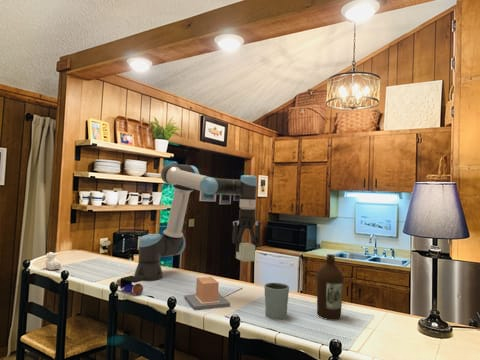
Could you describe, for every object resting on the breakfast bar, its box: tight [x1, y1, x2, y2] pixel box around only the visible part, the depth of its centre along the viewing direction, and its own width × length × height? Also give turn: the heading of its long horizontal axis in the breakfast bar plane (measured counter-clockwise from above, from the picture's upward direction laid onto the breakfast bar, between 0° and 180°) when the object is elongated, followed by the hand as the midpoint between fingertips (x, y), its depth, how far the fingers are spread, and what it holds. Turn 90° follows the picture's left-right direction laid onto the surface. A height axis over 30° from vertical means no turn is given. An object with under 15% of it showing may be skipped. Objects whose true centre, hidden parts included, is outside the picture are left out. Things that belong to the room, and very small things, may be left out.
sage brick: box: [235, 242, 256, 262], centre depth 159 cm, size 8×6×7 cm
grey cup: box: [264, 282, 290, 320], centre depth 139 cm, size 10×10×12 cm
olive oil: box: [316, 253, 344, 320], centre depth 142 cm, size 11×11×25 cm
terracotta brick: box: [195, 276, 220, 303], centre depth 152 cm, size 10×7×8 cm
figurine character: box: [116, 275, 146, 296], centre depth 162 cm, size 7×8×15 cm
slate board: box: [184, 292, 231, 311], centre depth 152 cm, size 16×16×2 cm
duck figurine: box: [45, 251, 62, 271], centre depth 198 cm, size 12×8×11 cm
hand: (245, 258), depth 158 cm, fingers closed on sage brick, 6 cm apart
